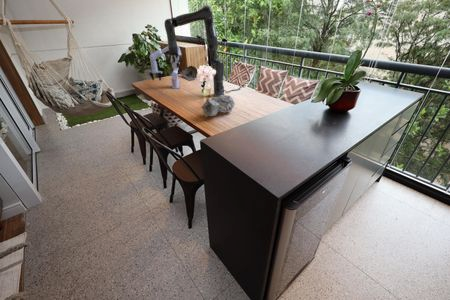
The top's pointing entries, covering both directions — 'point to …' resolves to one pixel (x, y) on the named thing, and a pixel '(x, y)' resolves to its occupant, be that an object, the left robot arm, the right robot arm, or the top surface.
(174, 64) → the block
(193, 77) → the bark piece
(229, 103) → the rock
